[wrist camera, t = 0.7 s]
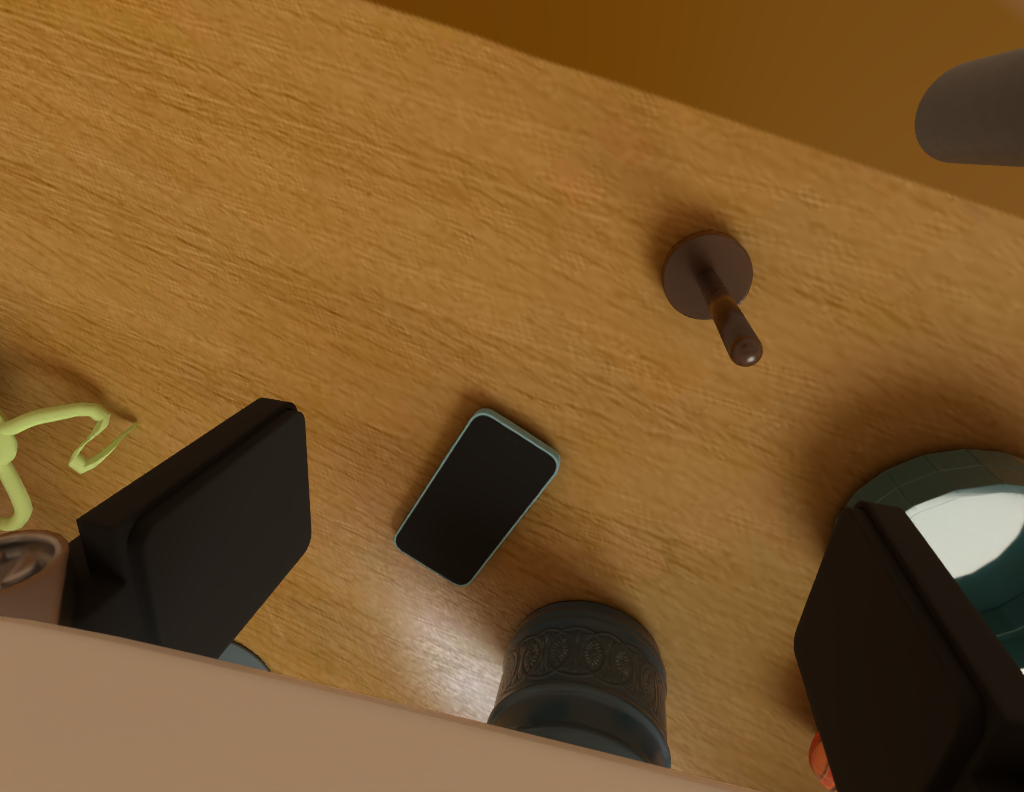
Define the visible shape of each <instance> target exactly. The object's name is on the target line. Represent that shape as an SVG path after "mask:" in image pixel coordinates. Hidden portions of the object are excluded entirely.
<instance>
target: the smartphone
mask: <svg viewBox="0 0 1024 792" xmlns="http://www.w3.org/2000/svg"><path fill="white" fill-rule="evenodd" d="M559 465H560V456H559V454H558V453H557V452H556V451H555V450H554V449H553V448H551V447H550V446H548V445H546V444H545V443H543V442H542V441H540V440H539V439H537V438H536V437H534V436H533V435H531V434H530V433H528V432H526V431H525V430H523V429H522V428H520V427H519V426H517V425H515V424H514V423H512V422H511V421H509V420H508V419H506V418H504V417H503V416H501V415H500V414H498V413H497V412H495V411H493V410H491V409H487V408H484V409H480V410H478V411H477V412H475V413H474V414H473V416H472V417H471V419H470V420H469V422H468V423H467V425H466V426H465V428H464V430H463V431H462V433H461V434H460V436H459V437H458V439H457V440H456V442H455V443H454V444H453V446H452V447H451V449H450V450H449V453H448V454H447V455H446V456H445V458H444V459H443V461H442V463H441V464H440V467H439V468H438V470H437V471H436V473H435V474H434V476H433V477H432V479H431V480H430V482H429V483H428V485H427V487H426V488H425V490H424V491H423V493H422V494H421V496H420V497H419V499H418V500H417V502H416V503H415V505H414V506H413V508H412V510H411V511H410V513H409V514H408V516H407V517H406V519H405V520H404V522H403V523H402V525H401V526H400V528H399V529H398V531H397V533H396V534H395V537H394V544H395V546H396V548H397V549H398V550H400V551H401V552H403V553H404V554H406V555H407V556H409V557H411V558H412V559H414V560H415V561H417V562H418V563H420V564H422V565H423V566H425V567H426V568H428V569H430V570H431V571H433V572H435V573H436V574H438V575H439V576H441V577H443V578H444V579H446V580H448V581H449V582H451V583H452V584H454V585H457V586H467V585H469V584H470V583H471V582H472V581H473V580H474V578H475V577H476V576H477V575H478V573H479V572H480V571H481V569H482V568H483V567H484V566H485V564H486V563H487V562H488V560H489V559H490V558H491V557H492V555H493V554H494V553H495V552H496V550H497V549H498V548H499V546H500V545H501V544H502V543H503V541H504V540H505V539H506V537H507V536H508V535H509V534H510V532H511V531H512V530H513V529H514V527H515V526H516V525H517V523H518V522H519V521H520V520H521V518H522V517H523V516H524V515H525V513H526V512H527V511H528V509H529V508H530V507H531V506H532V504H533V503H534V502H535V501H536V499H537V498H538V497H539V496H540V494H541V493H542V492H543V490H544V489H545V488H546V487H547V485H548V484H549V483H550V482H551V480H552V479H553V478H554V476H555V475H556V474H557V472H558V469H559Z"/></svg>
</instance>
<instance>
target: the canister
mask: <svg viewBox="0 0 1024 792" xmlns="http://www.w3.org/2000/svg"><path fill="white" fill-rule="evenodd" d="M666 695H667V683H666V672H665V668H664V664H663V661H662V659H661V655H660V652H659V649H658V647H657V645H656V643H655V641H654V640H653V638H652V637H651V636H650V634H649V633H648V632H647V631H646V630H645V629H644V628H643V627H642V626H641V625H640V624H639V623H638V622H636V621H635V620H634V619H632V618H631V617H629V616H627V615H626V614H624V613H622V612H620V611H618V610H616V609H613V608H611V607H608V606H605V605H601V604H597V603H592V602H584V601H566V602H559V603H554V604H550V605H547V606H545V607H542V608H540V609H538V610H536V611H534V612H533V613H531V614H530V615H529V616H527V617H526V618H525V619H524V620H523V621H522V622H521V624H520V625H519V626H518V628H517V629H516V631H515V633H514V635H513V636H512V638H511V640H510V642H509V644H508V646H507V650H506V654H505V657H504V661H503V674H502V678H501V682H500V686H499V690H498V693H497V697H496V701H495V705H494V709H493V710H492V712H491V714H490V716H489V719H488V722H487V724H490V725H494V726H498V727H503V728H507V729H511V730H515V731H519V732H523V733H527V734H531V735H535V736H539V737H544V738H548V739H552V740H556V741H560V742H564V743H568V744H572V745H576V746H581V747H585V748H589V749H593V750H597V751H601V752H605V753H609V754H613V755H617V756H621V757H625V758H629V759H633V760H637V761H641V762H645V763H649V764H653V765H657V766H661V767H665V768H669V769H670V768H671V756H670V751H669V747H668V744H667V730H666V710H665V700H666Z"/></svg>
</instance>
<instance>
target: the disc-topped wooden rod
mask: <svg viewBox="0 0 1024 792" xmlns="http://www.w3.org/2000/svg"><path fill="white" fill-rule="evenodd" d="M752 277H753V268H752V263H751V260H750V257H749V255H748V254H747V252H746V251H745V249H744V248H743V247H742V246H741V245H740V244H739V243H738V242H737V241H736V240H735V239H733V238H732V237H730V236H728V235H727V234H724V233H721V232H717V231H702V232H697V233H694V234H691V235H689V236H687V237H685V238H683V239H682V240H681V241H679V242H678V243H677V244H676V245H675V246H674V247H673V248H672V249H671V251H670V252H669V254H668V255H667V257H666V259H665V262H664V265H663V270H662V282H663V288H664V292H665V295H666V297H667V299H668V301H669V302H670V304H671V305H672V306H673V307H674V308H675V309H676V310H677V311H679V312H680V313H681V314H683V315H685V316H688V317H690V318H694V319H700V320H708V319H713V320H714V322H715V324H716V327H717V329H718V331H719V334H720V336H721V338H722V340H723V343H724V345H725V347H726V350H727V352H728V354H729V356H730V358H731V360H732V361H733V362H734V363H735V364H736V365H739V366H742V367H749V366H752V365H754V364H756V363H757V362H758V361H759V360H760V359H761V357H762V354H763V347H762V344H761V342H760V340H759V339H758V337H757V336H756V334H755V332H754V331H753V329H752V328H751V326H750V325H749V323H748V321H747V320H746V318H745V317H744V315H743V313H742V312H741V310H740V309H739V307H738V306H739V305H740V303H741V302H742V301H743V300H744V298H745V297H746V295H747V294H748V292H749V289H750V287H751V283H752Z"/></svg>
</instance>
